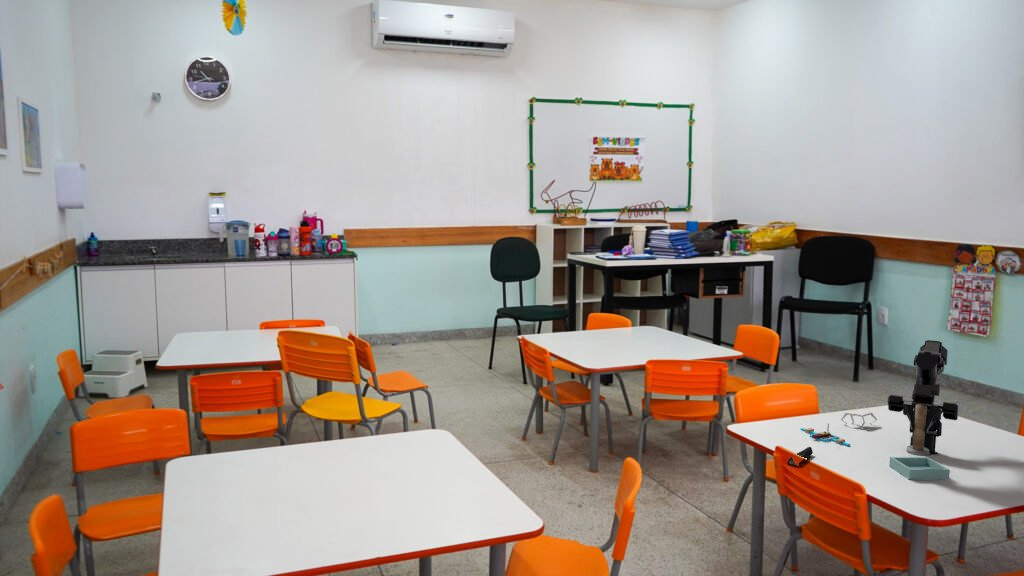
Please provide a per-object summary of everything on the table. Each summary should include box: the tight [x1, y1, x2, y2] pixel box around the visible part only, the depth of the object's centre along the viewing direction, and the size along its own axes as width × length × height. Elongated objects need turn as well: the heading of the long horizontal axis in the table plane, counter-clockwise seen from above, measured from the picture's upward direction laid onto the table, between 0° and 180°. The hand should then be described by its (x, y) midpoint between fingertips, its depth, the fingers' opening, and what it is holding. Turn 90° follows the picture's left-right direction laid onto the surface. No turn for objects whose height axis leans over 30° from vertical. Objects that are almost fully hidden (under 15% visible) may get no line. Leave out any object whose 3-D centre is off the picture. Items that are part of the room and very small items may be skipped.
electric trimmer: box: [786, 446, 814, 468], centre depth 237 cm, size 4×15×3 cm, turn 139°
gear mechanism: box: [800, 422, 851, 447], centre depth 259 cm, size 20×5×9 cm
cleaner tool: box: [906, 404, 930, 457], centre depth 226 cm, size 6×6×15 cm
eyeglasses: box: [840, 410, 878, 430], centre depth 274 cm, size 12×8×5 cm
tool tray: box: [889, 456, 951, 481], centre depth 227 cm, size 12×11×3 cm
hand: (919, 431), depth 224 cm, fingers closed on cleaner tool, 3 cm apart
